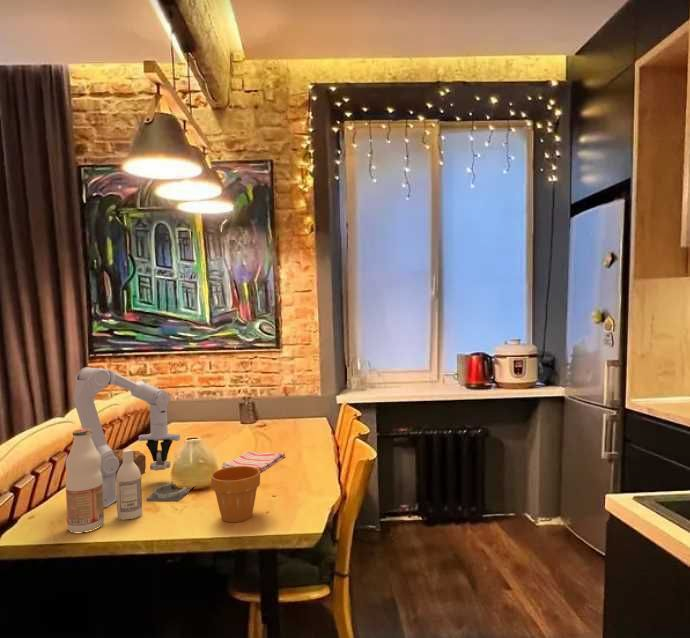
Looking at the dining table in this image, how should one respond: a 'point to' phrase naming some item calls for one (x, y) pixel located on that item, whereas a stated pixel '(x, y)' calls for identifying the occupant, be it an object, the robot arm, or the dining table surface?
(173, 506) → the dining table surface
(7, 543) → the dining table surface
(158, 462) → the planet gear
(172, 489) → the carrier plate
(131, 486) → the bath foam
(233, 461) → the dish towel
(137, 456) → the bread
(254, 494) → the flower pot
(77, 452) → the fruit juice
